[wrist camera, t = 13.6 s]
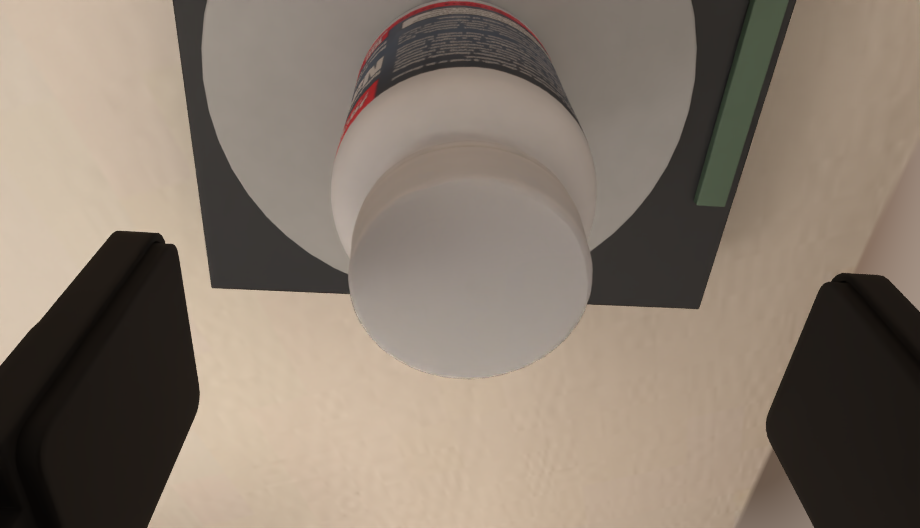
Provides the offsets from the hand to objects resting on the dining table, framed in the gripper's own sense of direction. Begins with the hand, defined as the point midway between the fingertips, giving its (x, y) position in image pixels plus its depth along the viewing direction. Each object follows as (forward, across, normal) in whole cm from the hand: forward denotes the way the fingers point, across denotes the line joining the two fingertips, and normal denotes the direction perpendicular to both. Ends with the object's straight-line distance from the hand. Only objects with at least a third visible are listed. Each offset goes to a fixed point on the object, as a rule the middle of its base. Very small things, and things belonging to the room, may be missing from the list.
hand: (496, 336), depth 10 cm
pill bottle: (+10, 0, 0) cm, 10 cm away
